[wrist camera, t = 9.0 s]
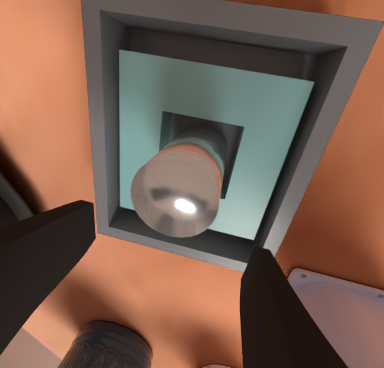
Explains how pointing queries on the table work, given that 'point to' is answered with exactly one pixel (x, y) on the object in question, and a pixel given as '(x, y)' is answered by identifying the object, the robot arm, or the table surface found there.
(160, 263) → the table surface
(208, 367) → the candle holder
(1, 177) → the casserole
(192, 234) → the peg
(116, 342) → the canister
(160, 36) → the tray
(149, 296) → the table surface
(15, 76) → the table surface
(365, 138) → the table surface
